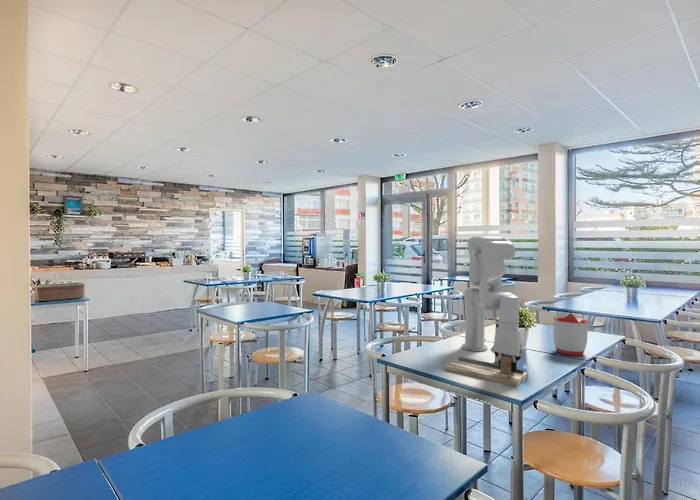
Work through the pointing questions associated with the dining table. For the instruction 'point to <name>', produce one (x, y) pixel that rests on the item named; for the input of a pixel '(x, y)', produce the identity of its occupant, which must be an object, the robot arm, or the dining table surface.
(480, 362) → the board
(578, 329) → the citrus juicer
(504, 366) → the brown block
